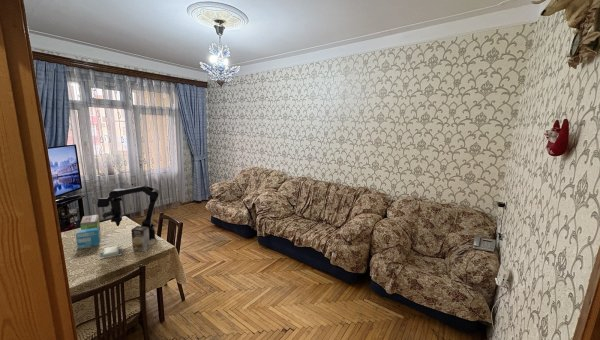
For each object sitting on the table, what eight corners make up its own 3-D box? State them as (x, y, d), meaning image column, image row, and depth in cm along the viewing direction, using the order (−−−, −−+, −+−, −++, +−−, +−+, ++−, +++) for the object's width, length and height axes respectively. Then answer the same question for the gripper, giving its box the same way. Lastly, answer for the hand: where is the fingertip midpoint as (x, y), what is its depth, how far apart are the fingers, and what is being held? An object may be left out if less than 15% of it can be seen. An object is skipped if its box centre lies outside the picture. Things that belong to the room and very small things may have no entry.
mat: (122, 248, 181) (122, 247, 180) (121, 255, 172) (121, 254, 172) (101, 252, 174) (101, 251, 174) (99, 259, 166) (99, 259, 166)
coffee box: (132, 250, 179) (130, 229, 176) (138, 245, 185) (136, 225, 182) (144, 251, 179) (143, 230, 175) (150, 246, 185) (149, 226, 182)
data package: (77, 249, 176) (75, 233, 174) (78, 246, 180) (76, 230, 177) (99, 245, 183) (97, 229, 181) (99, 242, 187) (98, 227, 184)
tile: (118, 245, 179) (118, 251, 172) (118, 247, 180) (118, 254, 173) (104, 247, 175) (103, 254, 168) (104, 250, 176) (103, 257, 168)
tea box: (99, 239, 191) (97, 220, 188) (81, 242, 185) (79, 223, 182) (100, 231, 203) (98, 213, 200) (84, 233, 198) (82, 216, 194)
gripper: (103, 203, 187) (105, 223, 190) (100, 212, 172) (103, 233, 175) (121, 201, 193) (123, 220, 196) (120, 209, 178) (122, 230, 181)
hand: (117, 226), depth 187 cm, fingers closed
